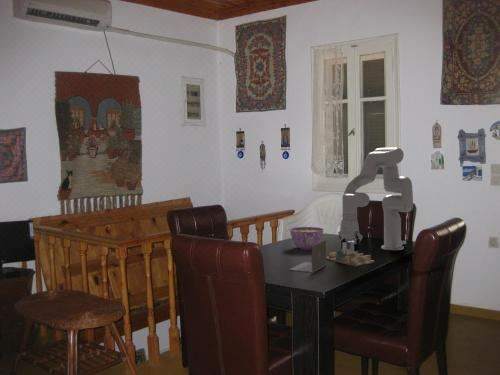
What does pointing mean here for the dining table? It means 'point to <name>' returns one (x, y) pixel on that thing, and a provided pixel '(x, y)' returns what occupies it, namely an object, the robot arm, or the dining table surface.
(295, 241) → the bowl of food
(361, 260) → the bay rack
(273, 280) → the dining table surface
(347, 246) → the grey rectangular block
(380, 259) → the dining table surface
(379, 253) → the dining table surface
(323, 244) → the laptop
